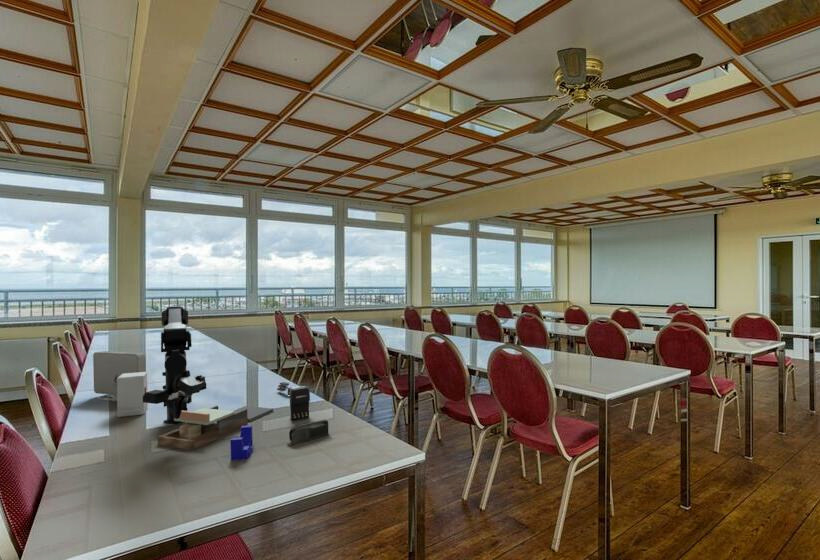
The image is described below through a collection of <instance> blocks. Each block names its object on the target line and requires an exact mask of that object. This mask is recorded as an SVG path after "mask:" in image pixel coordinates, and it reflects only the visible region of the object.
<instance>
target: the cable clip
mask: <svg viewBox="0 0 820 560" xmlns="http://www.w3.org/2000/svg"><path fill="white" fill-rule="evenodd" d="M229 440H230V441H229V442H230V461H246V459H247V460H248V459H249V458H250V456H251V455H252V453H253V451H254V450H253V449H254V447H253V444H254V443H253V425H246V426H242V427H241V428H240V436H239V437H231V439H229ZM243 459H244V460H243Z"/></svg>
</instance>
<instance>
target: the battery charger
mask: <svg viewBox="0 0 820 560" xmlns="http://www.w3.org/2000/svg"><path fill="white" fill-rule="evenodd" d="M291 388H292V389H291V390H290V397H289V409H290V410H289V411H290V412H289V413H290V417H289V419H290V420H292V421H298V420H299V419H300V420H305V419H308V418H310V402H311V394H310V393H311V392H310V391H311V390H310V388H308V387H307V386H295V387H291Z"/></svg>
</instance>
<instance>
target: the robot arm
mask: <svg viewBox="0 0 820 560" xmlns="http://www.w3.org/2000/svg"><path fill="white" fill-rule="evenodd" d="M187 325H189V311H188V310H187V309H184V307H183V306H181V305H174V306H173V305H170V306H166V309H164V310H163V311H162V312H161V326H162V327H163V331H161V332H160V353H165V354H164V368H165V370H164V371H163V372H161V373H162V374H161V376H163V377H165V385H162V390H161V389H160V390H159V389H154V390H151V391H150V390H148V392H146V393H145V394H144V395H143V402H144V403H148V404H155V405H157V404H162V403H163V408H166V419H165V420H163V423H166V424H175V425H177V424H180V423H181V422H180V421H174V418H175V419H178V418H179V417H180V414H181V411H182V410H183V411H188V405H187V404H190V403H192V395H194V394H197V393H198V394H199V393H200V392H201V391H203V390H207V382H206V376H205V375H204V374H198V375H196V376H191V371H190V370H188V369H187V362H188V361H187V352H186V351H190V348H192V346H193V345H192V334H191V332H190V331H189V330H187Z"/></svg>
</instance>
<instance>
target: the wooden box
mask: <svg viewBox="0 0 820 560" xmlns="http://www.w3.org/2000/svg"><path fill="white" fill-rule="evenodd" d="M209 409H217V410H219V405H215V406H212V407H211V406H210V407H209ZM187 423H188V422H186V424H187ZM242 426H249V425H248V421H247V409H244V410H241V411H239V412H236V413H235V414H233V415H231V416H228V417H226V418H223V419H221V420H219V421H216V422H214V423H211V424H209V425H203V424H201V435H200V436H197V437H195V438H192V439H190V440H188V439H181V438H180V432H179V428H177V429H173V430H171V431H168V432H166V433H164V434H161V435H158V436H157V445H158V444H160V446H165V447H171V448H179V449H185V450H190V451H191V450H195V449H197V448H199V447H201V446H203V445H206V444H208V443H210V441H211V442H212V440H213V441H215V440H217V439H219V438H221V436H222V437H224V436H226V435H229V434H230V432H231V433H233V432H235V431H238V430H239V429H241V427H242ZM214 439H215V440H214Z"/></svg>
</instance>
